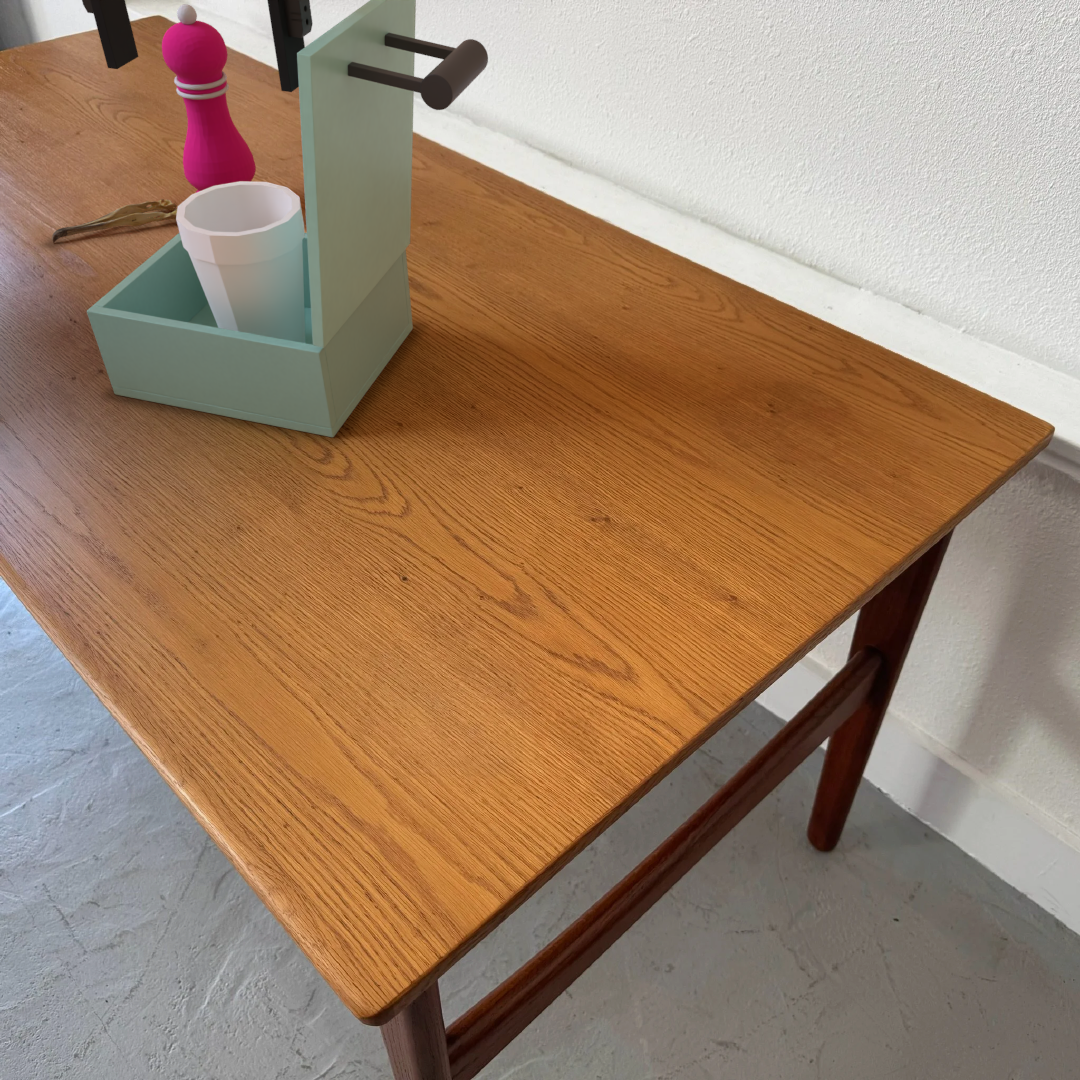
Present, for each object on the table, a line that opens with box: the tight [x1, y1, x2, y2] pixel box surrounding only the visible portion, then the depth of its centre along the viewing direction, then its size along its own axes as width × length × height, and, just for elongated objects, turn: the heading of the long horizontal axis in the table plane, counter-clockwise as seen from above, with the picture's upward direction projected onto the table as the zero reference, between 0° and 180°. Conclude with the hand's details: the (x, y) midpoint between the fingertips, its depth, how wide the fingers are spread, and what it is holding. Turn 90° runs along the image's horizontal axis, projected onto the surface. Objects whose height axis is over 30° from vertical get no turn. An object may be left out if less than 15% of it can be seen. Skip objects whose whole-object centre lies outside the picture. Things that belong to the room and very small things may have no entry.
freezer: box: [86, 231, 414, 438], centre depth 86 cm, size 20×17×8 cm
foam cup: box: [175, 181, 305, 343], centre depth 84 cm, size 10×9×13 cm
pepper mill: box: [161, 3, 257, 193], centre depth 103 cm, size 7×7×20 cm
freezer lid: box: [297, 0, 489, 348], centre depth 73 cm, size 21×17×8 cm
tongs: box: [51, 198, 178, 244], centre depth 106 cm, size 4×13×2 cm, turn 125°
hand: (208, 74), depth 73 cm, fingers open, 13 cm apart
